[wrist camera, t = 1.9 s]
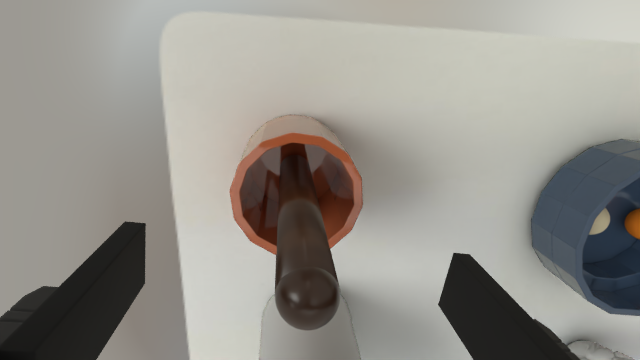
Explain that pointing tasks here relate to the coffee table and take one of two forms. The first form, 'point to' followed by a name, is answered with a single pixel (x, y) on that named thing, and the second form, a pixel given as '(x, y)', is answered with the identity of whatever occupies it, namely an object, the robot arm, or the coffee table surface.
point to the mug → (307, 337)
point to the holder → (264, 171)
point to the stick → (303, 252)
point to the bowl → (577, 220)
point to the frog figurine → (595, 351)
